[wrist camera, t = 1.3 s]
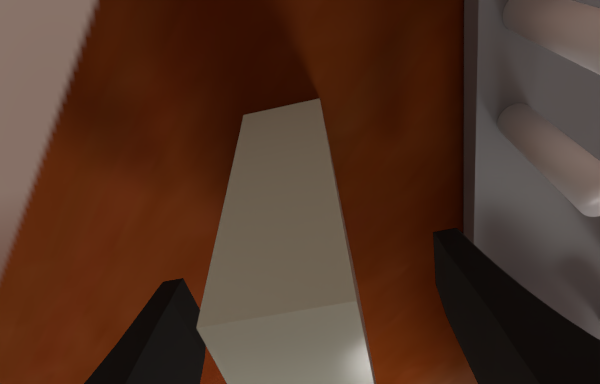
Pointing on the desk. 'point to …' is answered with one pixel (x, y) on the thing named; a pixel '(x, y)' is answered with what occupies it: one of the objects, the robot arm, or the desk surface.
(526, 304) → the robot arm
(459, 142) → the desk surface
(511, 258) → the dish rack
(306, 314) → the pale rectangular block
